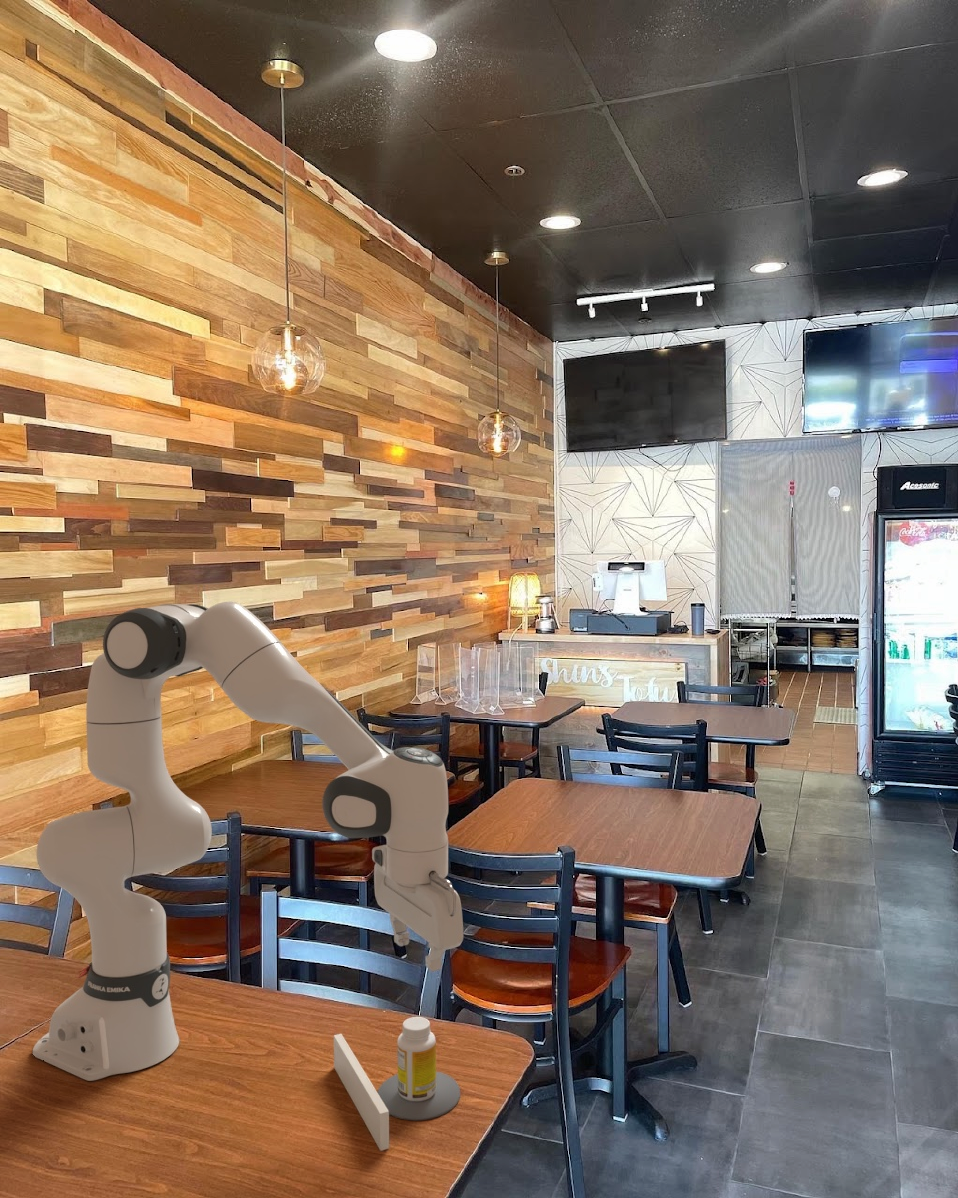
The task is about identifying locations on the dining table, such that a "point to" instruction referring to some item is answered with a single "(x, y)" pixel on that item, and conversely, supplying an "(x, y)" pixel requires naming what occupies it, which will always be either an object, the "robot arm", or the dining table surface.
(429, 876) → the robot arm
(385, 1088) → the rest mat
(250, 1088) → the dining table surface
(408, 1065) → the supplement bottle
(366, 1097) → the low wall
